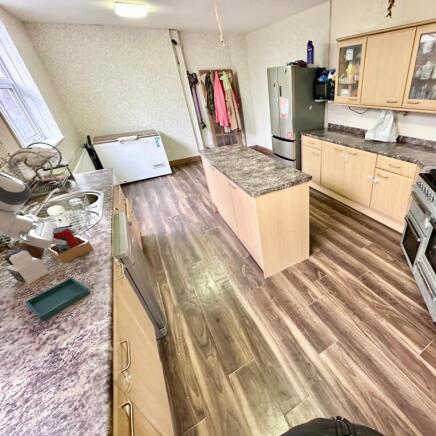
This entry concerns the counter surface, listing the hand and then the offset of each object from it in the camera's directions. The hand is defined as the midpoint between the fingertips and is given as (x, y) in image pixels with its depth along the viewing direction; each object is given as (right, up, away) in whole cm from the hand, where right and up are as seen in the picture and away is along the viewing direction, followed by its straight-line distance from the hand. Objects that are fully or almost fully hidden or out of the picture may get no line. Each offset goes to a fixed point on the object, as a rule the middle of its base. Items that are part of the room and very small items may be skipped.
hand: (66, 238), depth 103 cm
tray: (+19, -20, -21) cm, 34 cm away
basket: (0, -7, +3) cm, 7 cm away
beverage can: (0, -6, +3) cm, 7 cm away
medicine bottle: (-3, -15, -10) cm, 18 cm away
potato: (-16, -8, +3) cm, 18 cm away
